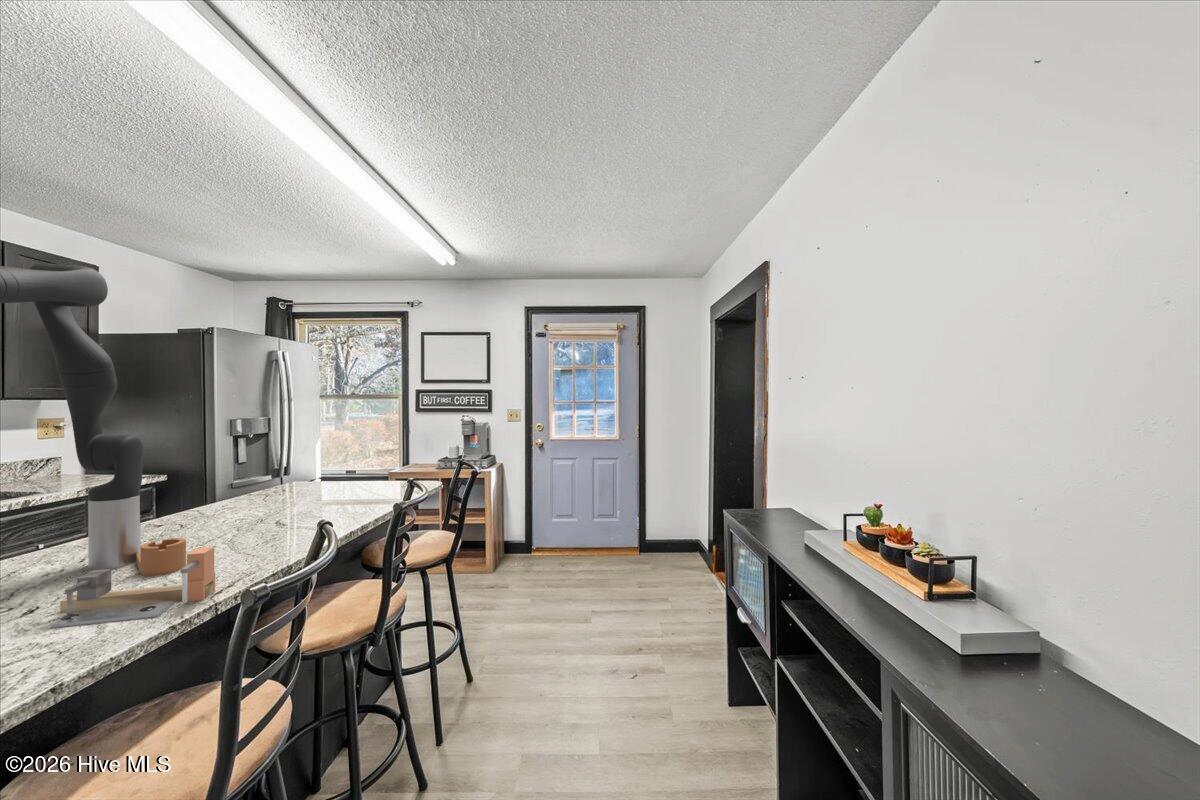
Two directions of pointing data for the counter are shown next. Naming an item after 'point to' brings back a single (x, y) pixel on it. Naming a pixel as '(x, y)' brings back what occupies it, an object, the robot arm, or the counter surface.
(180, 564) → the bracket
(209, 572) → the block
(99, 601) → the trammel bar
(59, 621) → the strip
